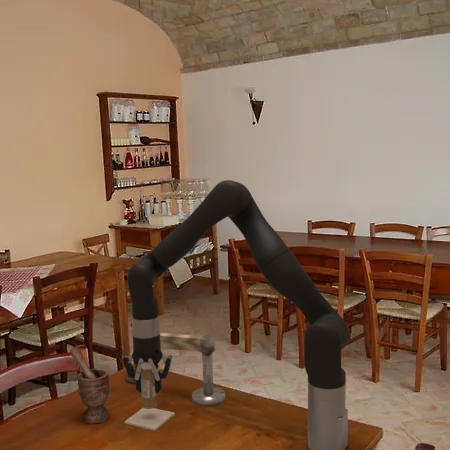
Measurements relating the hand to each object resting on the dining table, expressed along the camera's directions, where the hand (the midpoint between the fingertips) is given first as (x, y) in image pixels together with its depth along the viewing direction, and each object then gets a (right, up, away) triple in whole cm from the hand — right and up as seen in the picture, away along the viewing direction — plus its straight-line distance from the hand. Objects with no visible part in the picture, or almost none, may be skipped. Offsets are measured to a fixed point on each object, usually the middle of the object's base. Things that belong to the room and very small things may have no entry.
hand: (149, 391), depth 160 cm
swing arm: (+7, +9, +14) cm, 18 cm away
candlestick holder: (-7, -4, +29) cm, 30 cm away
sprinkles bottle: (0, -4, +1) cm, 4 cm away
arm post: (+16, -6, +13) cm, 22 cm away
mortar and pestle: (-17, -8, +3) cm, 19 cm away
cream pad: (0, -8, +1) cm, 8 cm away
